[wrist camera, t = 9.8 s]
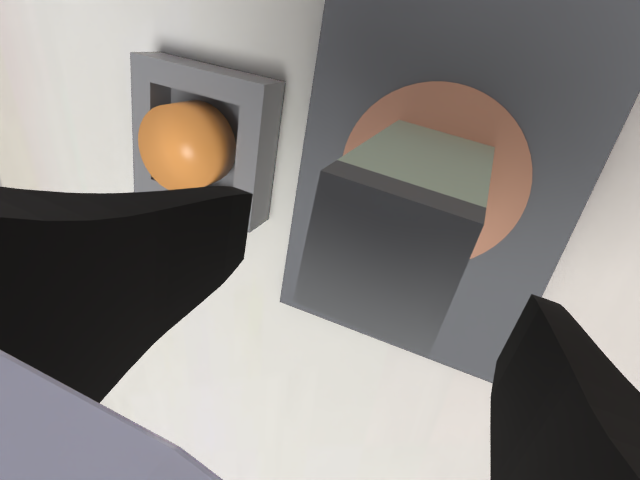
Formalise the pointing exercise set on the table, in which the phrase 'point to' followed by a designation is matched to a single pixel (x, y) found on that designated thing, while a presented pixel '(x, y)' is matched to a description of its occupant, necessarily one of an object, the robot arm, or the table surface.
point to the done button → (186, 144)
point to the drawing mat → (479, 130)
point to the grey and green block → (395, 232)
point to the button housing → (231, 100)
